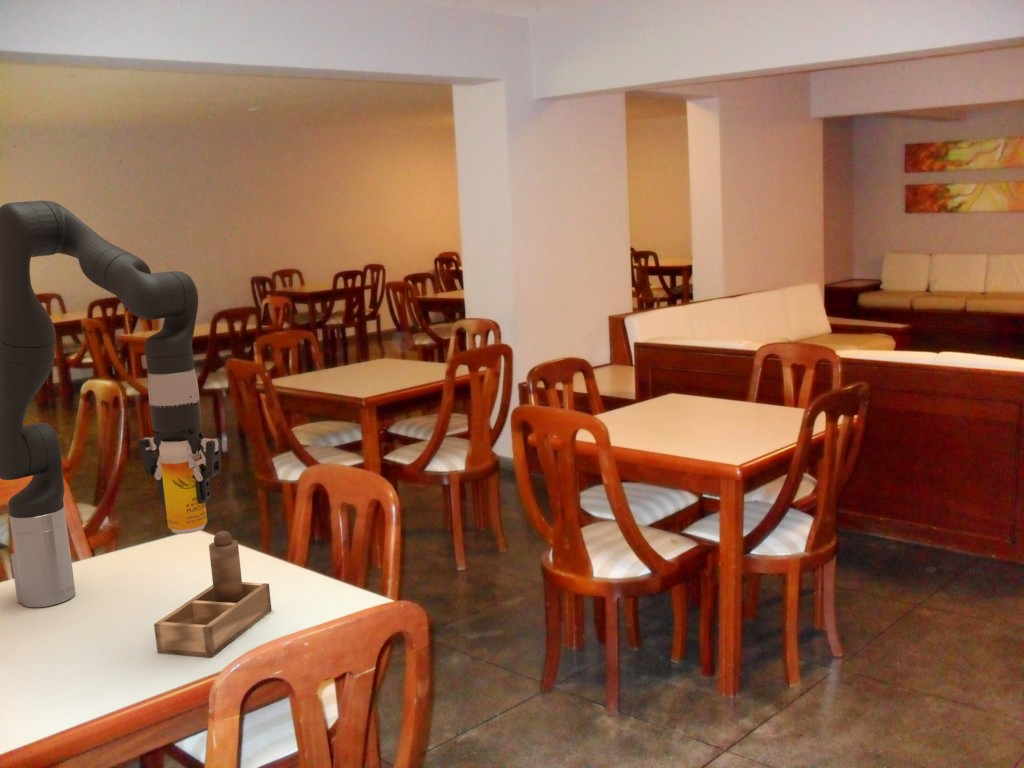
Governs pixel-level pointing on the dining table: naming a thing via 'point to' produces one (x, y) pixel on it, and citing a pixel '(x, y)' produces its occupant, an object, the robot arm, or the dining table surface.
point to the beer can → (181, 488)
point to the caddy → (215, 607)
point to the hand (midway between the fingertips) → (185, 501)
